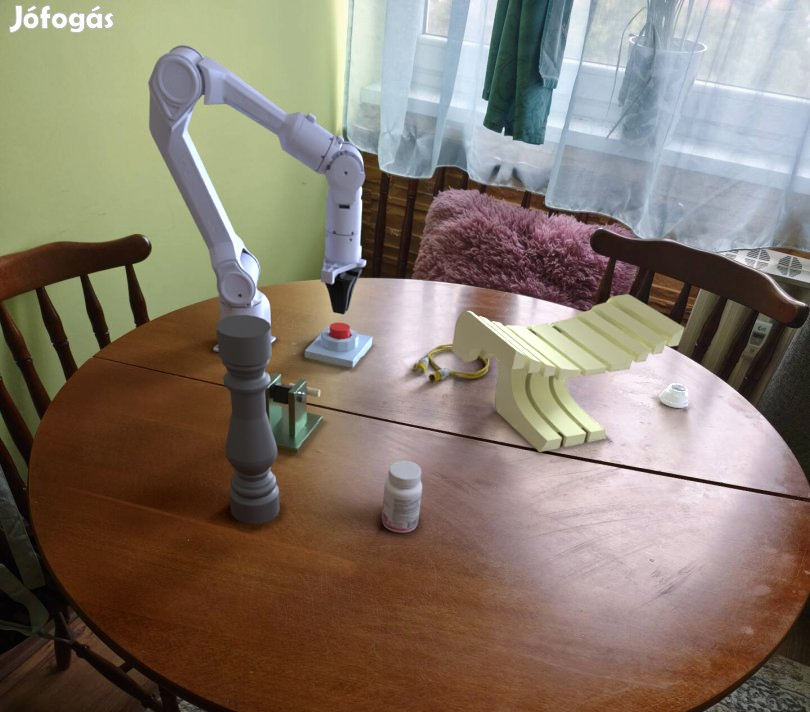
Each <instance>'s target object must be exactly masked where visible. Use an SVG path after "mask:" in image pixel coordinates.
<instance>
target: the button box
mask: <svg viewBox="0 0 810 712" xmlns="http://www.w3.org/2000/svg"><path fill="white" fill-rule="evenodd" d="M372 346H373V336H371V335H367V334H366V335H365V334H361V333H358V331H356V330H354V329H353V328H351V327H350V337H349V338H347V339H335V338H332V337H330V326H329V327H328V326H327V327H325V328H324V329H323V330H322V331H321V332H320V334H319V335H318V336H316V338H315V339H314V340H313V341H312V342H311V344H309V346H308V347H307V348H306V349H305V350H304V358H306V359H310V360H315V361H318V362H324V363H328V364H333V365H337V366H342V367H347V368H351V369H353V368H354V367H355V366H356V364H357V363H358V362H359V360H361V358H362V357H364V356H365V355H366V354H367V352H368V351H369V350H370V349H371V347H372Z"/></svg>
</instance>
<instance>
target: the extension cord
mask: <svg viewBox="0 0 810 712" xmlns="http://www.w3.org/2000/svg"><path fill="white" fill-rule="evenodd" d="M452 345H453V343H447V344H442V345H441V344H440V345H438V346H436V347H434V348H433V349H432V350H430V352H429V353H428V354H427V356H424V357H421V358H420V359H418V362H416V363H414V365H413V368H414V371H415V372H416V373H420V374H425V373H426V371H427V369H428V367H429V362H430V364H431V366H432V367H433V368H434V369H435V371H434V372H432V373H430V374H429V375H428V378H429V381H430V382H431V383H433V384H435V383H437V382H438V381H439V382H442V381H443V380H444V379H446V378H447V377H449V376H453V377H455V378H462V379H468V380H470V379H477V378H481V377H483V376H485V375H486V374H487V373H488V370H489V366H490V358H485V359H483V358H482V357H481V356H480V355H478V357H477V358H479V359H480V360H481V361H482V362H483V363H484V365H485V366H484V367H483V368H482V369H480V370H478V371H475V372H463V371H456V370H455V371H454V370H450V369H449V368H446V367H444V368H442V367H440V366H439V365H438V364H437V363H435V361H434V360H433V359H432V358H433V357H434V356H435V355H437V354H439V353H441V352H446V351H451V352H453V351H452Z"/></svg>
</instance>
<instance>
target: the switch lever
mask: <svg viewBox="0 0 810 712" xmlns="http://www.w3.org/2000/svg"><path fill="white" fill-rule="evenodd" d="M295 384H296V383H291V382H289V383H288V384H287V383H281V384H277V385H275V389H274V396H273V402H278V403H281V405H287V406H288V405H289V402H288V392H289V391H290V389H291V388H292V387H293V386H294V385H295ZM306 396H310V397H314V398H320V396H321V389H318V388H314V387H310V386H306Z"/></svg>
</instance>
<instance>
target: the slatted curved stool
mask: <svg viewBox="0 0 810 712" xmlns="http://www.w3.org/2000/svg"><path fill="white" fill-rule="evenodd" d="M685 329H686V327H684V326H683V325H681V324H679V323H678V322H676V321H674V320H673V319H671V318H670V317H668V316H666V315H664V314H663V313H661V312H660V311H658V310H656V309H654V308H653V307H651V306H649V305H647V304H646V303H644V302H642V301H641V300H639V299H638V298H636V297H634V296H633V295H630V294H619V295H615V296H611V297H610V298H608V299H607V300H606V302H602V303H599V304H595V305H593V306H592V307H591V309H590V310H586V311H582V312H578V313H577V314H576V315H575V317H570V318H567V319H562V320H558V321H553V322H551V324H549V323H542V324H541V323H540V324H533V325H527V327H525V326H524V325H509V324H508V325H507V324H506V325H503V323H502V322H499V321H491V320H489V319H488V318H486V317H484V316H481V315H479V316H478V315H477V314H476V313H474V312H473V311H471V310H466V311H462V312H461V313H459V315H458V317H457V319H456V322H455V325H454V333H453V338H452V344H453V345H452V346H451V347H452V351H451V352H452V353H454V354H455V355H456V356H457V357H458V358H459V359H460V360H461V361H462V362H463V363H464V364H467V363H470V362H473V361H475V360H477V359H478V358H479V357H478V355H479V356H481V357H482V358H483V359H484V360H486V359H485V358H489V359H493V358H495V359H496V364H497V365H496V366H497V378H496V386H495V393H494V406H495V410H496V412H497V413H498V414H499V415H500V416H501V417H502V418H503V419H504V420H505V421H506V422H507V423H508V424H509V425H510V426H511V427H513V428H514V429H515V430H516V431H517V432H518V433H519V434H520V435H521V436H522V437H523V439H525V440H526V441H527V442H528V443H529V444H530V445H531V446H532V447H533V448H534V449H536V450H537V451H538V453H543V452H547V451H553V450H557V449H560V447H561V446H562V447H563V448H567V447H571V446H576V445H581V444H584V443H585V441H586V442H587V443H591V442H597V441H602V440H606V439H607V436H606V435H607V434H606V429H605V428H604V427H603V426H602V425H600V424H599V422H597V421H596V420H595V419H593V418H592V417H591V416H590V415H589V414H588V413H587V412H586V411H585V410H584V409H583V408H582V407H581V406H580V405H579V404H578V403H577V402H576V401H575V400H574V398H573V397H572V395H571V393H570V391H569V389H568V387H567V380H570V379H576V378H580V376H581V375H582V376H583V377H589V376H594V375H595V376H596V375H601V374H605V373H606V371H607V372H609V373H614V372H622V371H628V370H630V369H631V366H632V363H633V362H634V363H642V362H647V360H648V356H649V354H651V355H652V356H653V355H661V354H663V352H664V350H665V348H666V347H665V346H667V347H669V348H670V347H678V346H679V345H680V342H681V339H682V337H683V334H684V332H685Z"/></svg>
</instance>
